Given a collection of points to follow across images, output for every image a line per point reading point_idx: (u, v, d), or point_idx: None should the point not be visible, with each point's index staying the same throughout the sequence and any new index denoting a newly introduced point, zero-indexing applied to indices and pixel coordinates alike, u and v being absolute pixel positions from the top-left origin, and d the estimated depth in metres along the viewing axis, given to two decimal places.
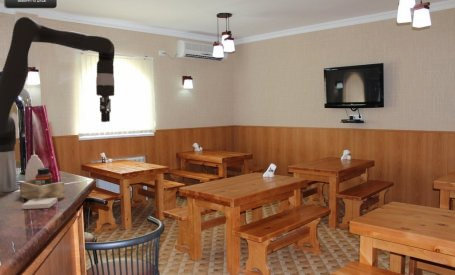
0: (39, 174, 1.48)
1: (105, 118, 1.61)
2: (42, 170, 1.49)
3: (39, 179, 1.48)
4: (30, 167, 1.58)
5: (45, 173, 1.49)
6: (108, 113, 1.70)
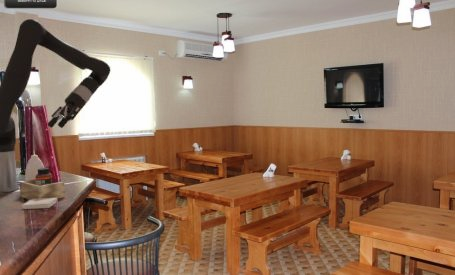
0: (39, 174, 1.48)
1: (64, 124, 1.52)
2: (42, 170, 1.49)
3: (39, 179, 1.48)
4: (30, 167, 1.58)
5: (45, 173, 1.49)
6: (56, 120, 1.59)
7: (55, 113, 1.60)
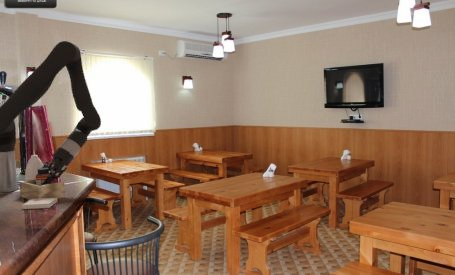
0: (39, 174, 1.48)
1: None
2: (42, 170, 1.49)
3: (39, 179, 1.48)
4: (30, 167, 1.58)
5: (45, 173, 1.49)
6: None
7: None
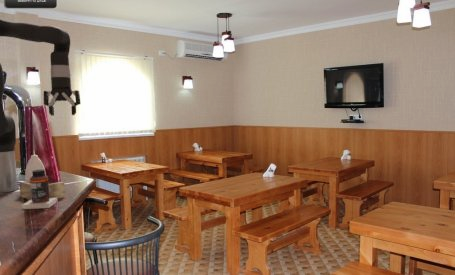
0: (34, 176, 1.35)
1: None
2: (37, 172, 1.35)
3: (34, 182, 1.34)
4: (30, 167, 1.58)
5: (41, 175, 1.35)
6: None
7: (46, 100, 1.58)
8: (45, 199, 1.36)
